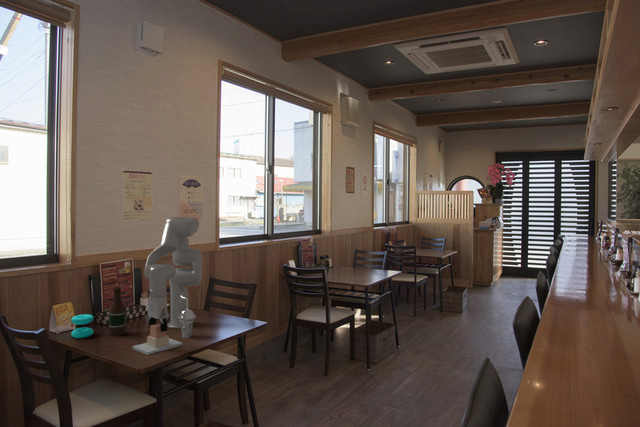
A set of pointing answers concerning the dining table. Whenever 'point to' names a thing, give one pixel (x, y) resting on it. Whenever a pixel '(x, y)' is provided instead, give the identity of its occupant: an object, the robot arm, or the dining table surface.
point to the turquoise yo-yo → (85, 330)
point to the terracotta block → (156, 331)
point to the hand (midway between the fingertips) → (158, 329)
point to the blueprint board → (153, 350)
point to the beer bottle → (117, 315)
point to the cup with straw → (186, 320)
